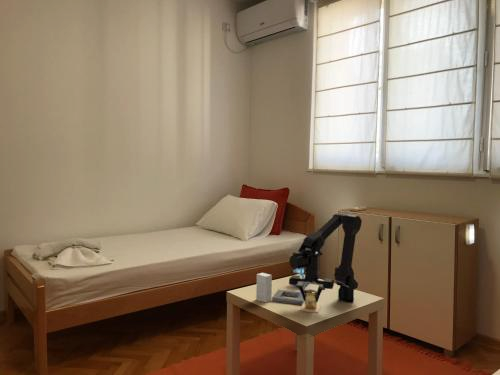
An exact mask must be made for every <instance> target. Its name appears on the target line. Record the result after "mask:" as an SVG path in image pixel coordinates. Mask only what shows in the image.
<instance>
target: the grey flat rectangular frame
mask: <svg viewBox="0 0 500 375" xmlns="http://www.w3.org/2000/svg"><path fill="white" fill-rule="evenodd" d="M284 296H285V297H284ZM286 296H288V297H286ZM294 297H295V298H294ZM271 301H272V302H275V303H276V302H277V303H283V304H291V305H300V306H302V305H303V303H304V304H305V301H304V299H303V296H302V294H301V292H300V291H296V290H287V289H277V291H275V293H274V294H273V296H272V297H271Z"/></svg>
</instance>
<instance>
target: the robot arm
mask: <svg viewBox="0 0 500 375" xmlns="http://www.w3.org/2000/svg"><path fill="white" fill-rule="evenodd" d="M340 226H342V229H343V233H344V236H343V244H342V250H341V251H342V252H341V258H340V264H339V265H338V266H337V267H335V268H334V274H333V276H334V279H332V278H324V279H323V280H320V270H319V267H320V266H319V262H320V261H319V256H323V255H324V253H323V252H321V249H322V248H323V246H324V245H325V243H326V240H327V239H328V237H330V236H331V235H332V234H333V233H334V232H335V231H336V230H337V229H338V228H339V227H340ZM361 226H362V218H361V217H360V216H359V215H354V214H341V213H334V214H333V215H332V217H331V218H330V219H329V220H328V221H327V222H325V224H324V225H323V226H322V227H320V229H318V230H317V231H315V232H312V233H310V234H308V235H307V236H305V237H304V238H303V242H302V243H301V245H300V247H299V249H298V251H296V252H292V255H291V256H290V257H289V266H290V267H291V269H293V270H295V269H296V270H299V269H301V268H303V269H304V277H305V279H303V278H302V277H301V275H295V274H294V275H293V274H292V275H291V276H290V278H289V280H288V284H289V285H290V286H295V285H296V286H295V287H296V288H298V290H299V292H301V294H302V296H303V299H304V301H305V290H306V286H305V283H307V284H308V285H318V287H317V290H316V291H317V298H316V302H317V303H318V302H319V299H320V295H321V294H322V292H323V291H326V289H329V290H332V289H333V288H334V286H335V282H336V285H337V286H339V288H338V292H337V294H338V295H337V296H338V297H337V299H338V301H339V302H345V303H354V300H355V297H354V296H355V290H356V289H358V286H359V283H358V282H357V281H356V279H355V271H354V269H353V266H352V265H353V259H354V258H353V256H354V250H355V243H356V236H357V234H358V233H359V231H360V230H361ZM307 281H309V282H307Z"/></svg>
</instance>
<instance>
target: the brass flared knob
mask: <svg viewBox="0 0 500 375" xmlns="http://www.w3.org/2000/svg"><path fill="white" fill-rule="evenodd" d="M317 291H318V290H315V289H310V288H309V289H305V302H304V304H305V308H307V309H316V308H317V305H318V304H317V303H318V302H316V298H317Z"/></svg>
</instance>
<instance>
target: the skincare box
mask: <svg viewBox="0 0 500 375" xmlns="http://www.w3.org/2000/svg"><path fill="white" fill-rule="evenodd" d="M272 276H273V275H272V274H268V273H266V272H261V273H257V274H256V287H255V288H256V290H255V291H256V294H255V295H256V296H255V297H256V298H255V300H257V301H260V302H262V303H265V304H266V303H267V302H268V303H269V302H271V301H272V297H273V296H272V294H273V293H272V291H273V290H272V287H273V286H272V284H273V281H272V280H273V279H272V278H273V277H272Z"/></svg>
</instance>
